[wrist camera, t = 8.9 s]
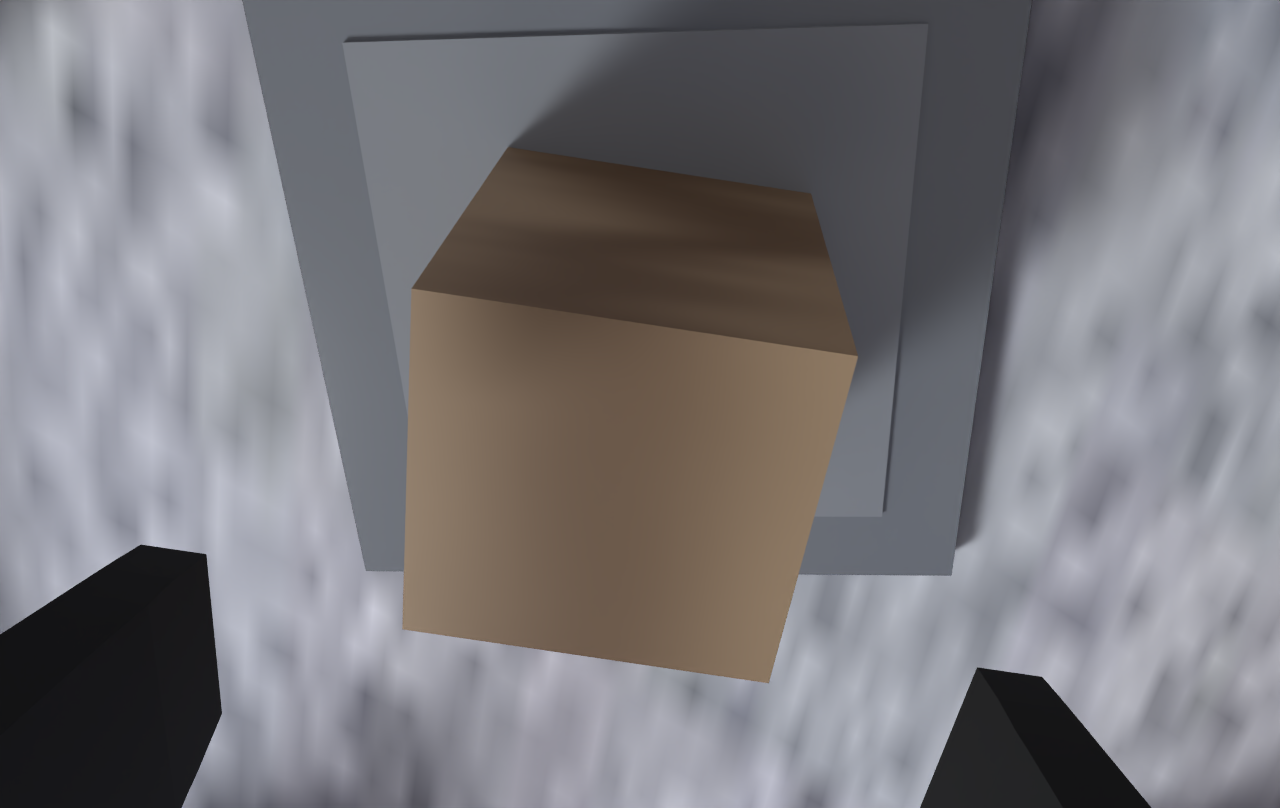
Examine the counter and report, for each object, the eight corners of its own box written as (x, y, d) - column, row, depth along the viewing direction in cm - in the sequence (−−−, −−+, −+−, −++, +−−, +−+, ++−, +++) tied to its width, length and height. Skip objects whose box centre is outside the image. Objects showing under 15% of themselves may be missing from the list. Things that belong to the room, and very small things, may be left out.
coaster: (1033, -95, 15) (1046, -92, 14) (945, 557, 21) (952, 578, 20) (245, -63, 16) (225, -59, 15) (374, 553, 21) (364, 573, 21)
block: (810, 193, 16) (857, 356, 11) (752, 450, 19) (768, 683, 14) (507, 147, 16) (411, 288, 11) (488, 410, 19) (401, 628, 13)
